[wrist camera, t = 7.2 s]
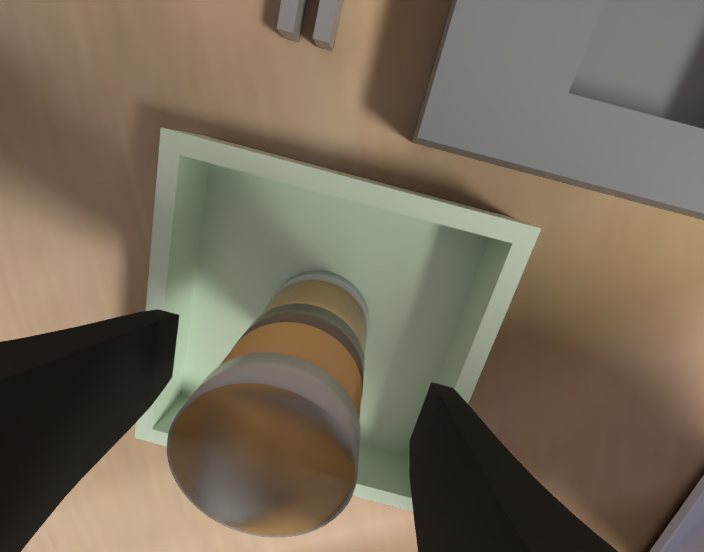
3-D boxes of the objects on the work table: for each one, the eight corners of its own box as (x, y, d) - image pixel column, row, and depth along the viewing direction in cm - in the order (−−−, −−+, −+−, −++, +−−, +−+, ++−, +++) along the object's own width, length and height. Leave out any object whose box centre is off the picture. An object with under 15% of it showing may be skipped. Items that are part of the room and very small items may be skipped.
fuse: (383, 290, 13) (386, 421, 6) (349, 373, 14) (323, 559, 7) (286, 256, 13) (186, 352, 6) (260, 342, 14) (152, 502, 7)
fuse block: (963, -99, 9) (1117, -169, 7) (759, 234, 12) (833, 248, 10) (513, -218, 9) (549, -320, 7) (411, 142, 12) (417, 137, 10)
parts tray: (510, 216, 12) (541, 228, 10) (415, 461, 16) (421, 514, 13) (202, 135, 12) (160, 127, 10) (172, 396, 16) (134, 438, 13)
